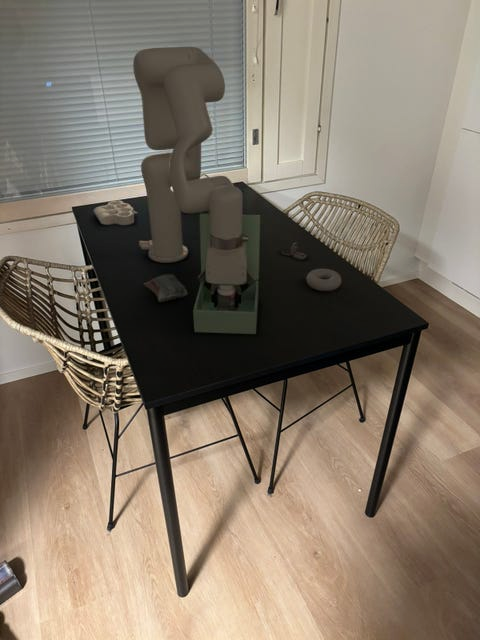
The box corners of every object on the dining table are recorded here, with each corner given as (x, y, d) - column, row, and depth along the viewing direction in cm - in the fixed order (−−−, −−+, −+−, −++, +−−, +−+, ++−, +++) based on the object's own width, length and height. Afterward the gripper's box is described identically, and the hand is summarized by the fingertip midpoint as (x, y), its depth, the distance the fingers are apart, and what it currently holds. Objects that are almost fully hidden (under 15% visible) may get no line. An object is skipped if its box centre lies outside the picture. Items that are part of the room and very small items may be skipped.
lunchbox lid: (260, 215, 123) (260, 211, 127) (199, 214, 124) (201, 209, 128) (258, 279, 131) (259, 273, 135) (201, 278, 132) (203, 271, 136)
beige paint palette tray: (92, 212, 189) (129, 206, 195) (103, 229, 176) (143, 222, 182) (90, 204, 188) (128, 198, 193) (102, 220, 174) (142, 213, 180)
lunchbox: (255, 334, 121) (256, 313, 118) (194, 332, 122) (193, 311, 119) (258, 300, 135) (258, 280, 131) (202, 298, 135) (201, 278, 132)
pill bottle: (233, 316, 126) (233, 287, 121) (215, 314, 126) (215, 285, 122) (237, 306, 130) (237, 278, 125) (219, 304, 130) (219, 276, 126)
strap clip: (307, 257, 157) (308, 245, 155) (302, 260, 155) (303, 248, 153) (285, 250, 162) (286, 238, 159) (279, 253, 160) (280, 241, 157)
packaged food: (159, 309, 131) (157, 292, 128) (143, 289, 139) (142, 274, 137) (189, 301, 134) (188, 285, 132) (172, 282, 143) (171, 267, 140)
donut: (299, 281, 144) (319, 296, 136) (299, 271, 142) (320, 285, 134) (327, 274, 148) (348, 288, 140) (328, 263, 146) (349, 277, 138)
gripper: (262, 234, 120) (260, 298, 130) (192, 232, 120) (195, 296, 131) (261, 248, 113) (259, 314, 124) (188, 245, 114) (191, 311, 124)
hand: (226, 304), depth 127 cm, fingers closed on pill bottle, 4 cm apart
